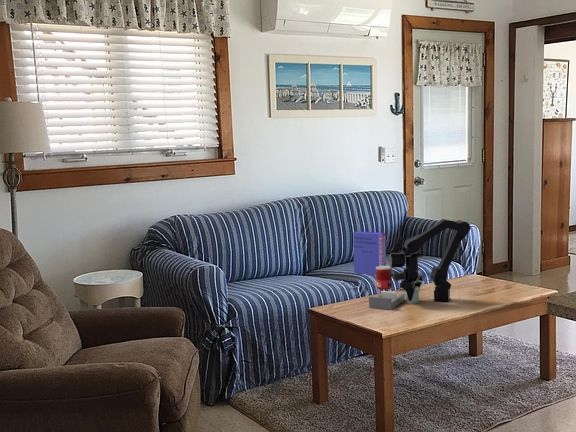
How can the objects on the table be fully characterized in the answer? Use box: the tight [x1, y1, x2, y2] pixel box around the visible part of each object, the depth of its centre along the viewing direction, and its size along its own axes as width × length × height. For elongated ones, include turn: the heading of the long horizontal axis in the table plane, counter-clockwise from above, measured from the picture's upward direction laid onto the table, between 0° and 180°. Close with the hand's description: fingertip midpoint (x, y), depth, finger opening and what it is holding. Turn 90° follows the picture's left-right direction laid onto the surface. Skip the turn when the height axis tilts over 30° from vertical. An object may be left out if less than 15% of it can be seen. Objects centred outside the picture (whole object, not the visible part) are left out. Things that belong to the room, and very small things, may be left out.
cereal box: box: [352, 230, 387, 277], centre depth 366 cm, size 17×5×24 cm, turn 58°
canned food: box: [375, 265, 393, 291], centre depth 333 cm, size 8×8×11 cm
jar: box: [405, 286, 420, 305], centre depth 303 cm, size 6×6×7 cm
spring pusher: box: [380, 290, 398, 300], centre depth 305 cm, size 7×1×4 cm, turn 62°
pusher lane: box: [368, 293, 406, 311], centre depth 302 cm, size 10×19×5 cm, turn 152°
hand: (412, 299), depth 304 cm, fingers closed on jar, 6 cm apart
